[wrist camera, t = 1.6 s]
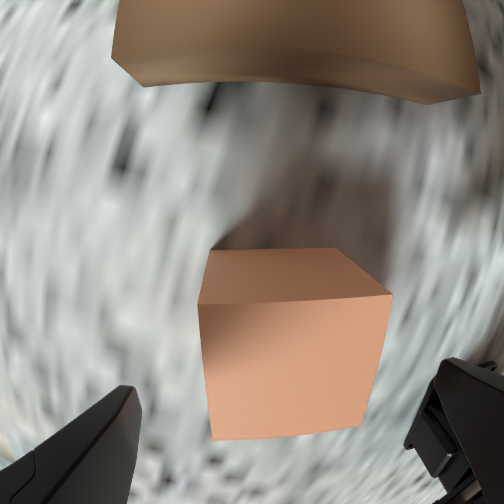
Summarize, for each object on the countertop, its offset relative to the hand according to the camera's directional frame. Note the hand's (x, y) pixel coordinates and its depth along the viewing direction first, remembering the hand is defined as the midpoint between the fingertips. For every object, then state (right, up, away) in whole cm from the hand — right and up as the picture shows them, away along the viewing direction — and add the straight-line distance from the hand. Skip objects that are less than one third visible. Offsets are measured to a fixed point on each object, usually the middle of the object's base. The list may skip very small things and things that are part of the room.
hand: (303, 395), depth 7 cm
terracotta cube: (0, +2, +5) cm, 6 cm away
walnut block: (0, +16, +2) cm, 16 cm away
